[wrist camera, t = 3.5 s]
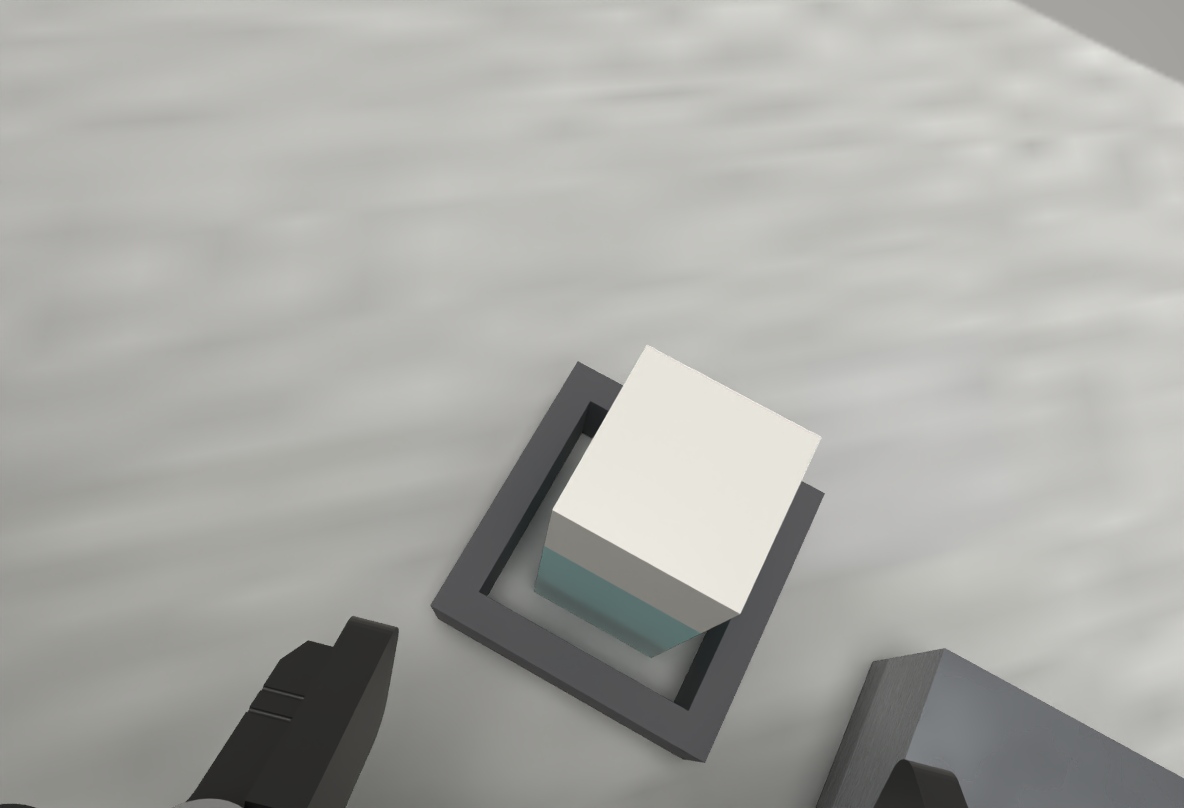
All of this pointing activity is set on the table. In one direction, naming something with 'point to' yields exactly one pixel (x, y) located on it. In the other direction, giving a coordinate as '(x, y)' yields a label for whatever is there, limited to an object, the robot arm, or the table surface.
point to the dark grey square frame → (564, 665)
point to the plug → (672, 507)
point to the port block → (985, 743)
